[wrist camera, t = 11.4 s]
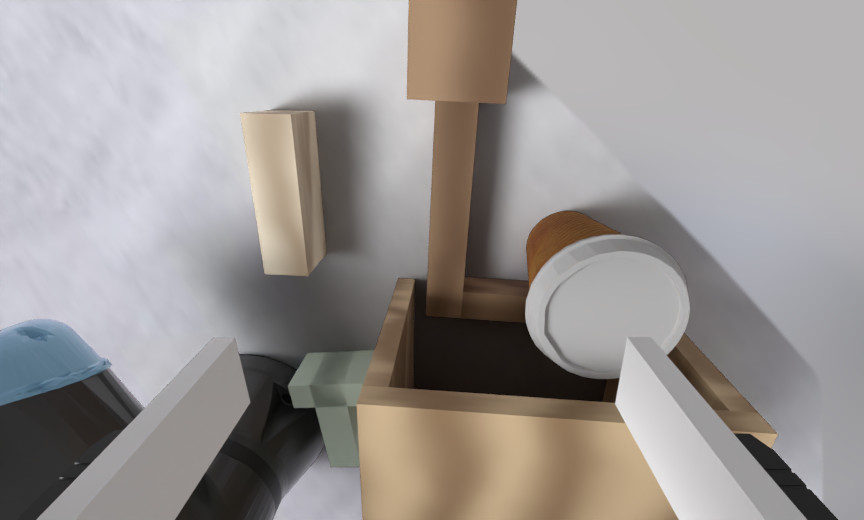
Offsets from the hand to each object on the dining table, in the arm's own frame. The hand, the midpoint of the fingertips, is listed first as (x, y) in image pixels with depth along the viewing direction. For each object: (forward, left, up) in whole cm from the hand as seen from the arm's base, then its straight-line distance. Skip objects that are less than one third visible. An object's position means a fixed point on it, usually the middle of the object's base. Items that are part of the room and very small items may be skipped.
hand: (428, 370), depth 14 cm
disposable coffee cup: (+10, -3, -22) cm, 24 cm away
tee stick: (-9, -20, -22) cm, 31 cm away
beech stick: (-12, +1, -22) cm, 25 cm away
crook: (+6, +2, -22) cm, 23 cm away
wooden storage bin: (+7, -14, -22) cm, 27 cm away
